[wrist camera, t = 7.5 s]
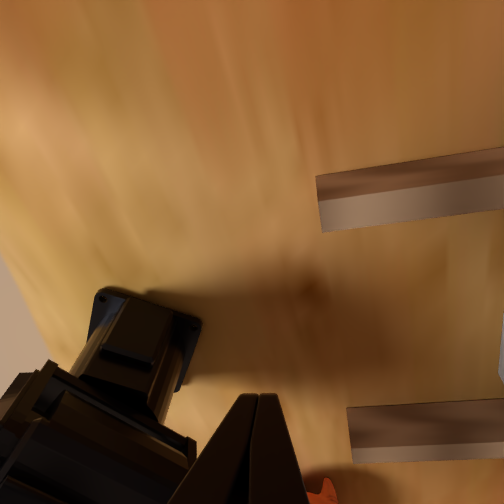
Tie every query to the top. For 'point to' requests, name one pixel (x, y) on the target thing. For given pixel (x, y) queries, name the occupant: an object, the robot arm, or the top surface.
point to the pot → (324, 494)
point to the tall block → (501, 355)
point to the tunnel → (402, 210)
